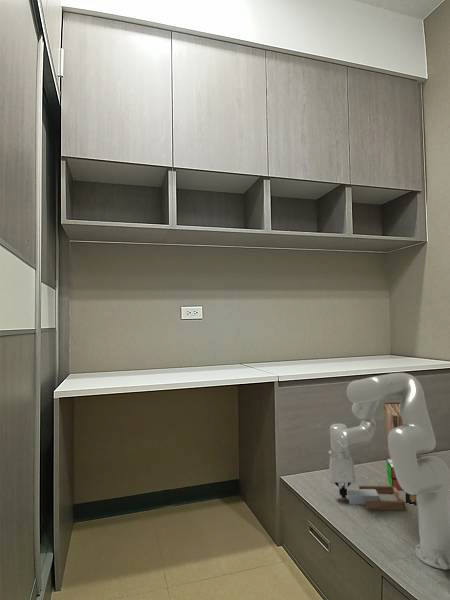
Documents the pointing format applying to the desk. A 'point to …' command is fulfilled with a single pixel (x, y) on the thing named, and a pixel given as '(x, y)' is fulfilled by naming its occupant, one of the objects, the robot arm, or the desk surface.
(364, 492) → the tile
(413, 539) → the desk surface
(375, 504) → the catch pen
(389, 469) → the puzzle cube
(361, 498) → the tile trail
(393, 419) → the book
